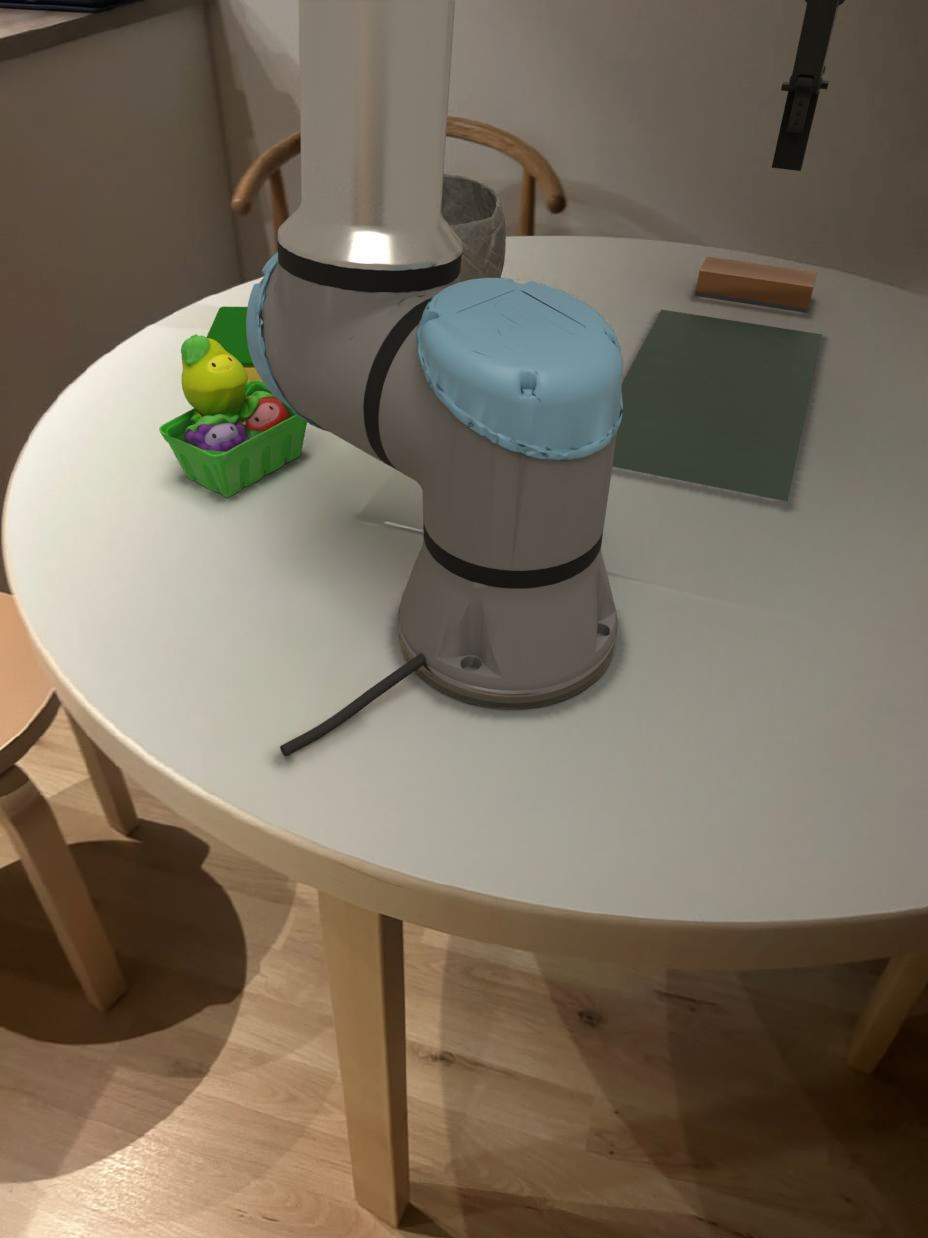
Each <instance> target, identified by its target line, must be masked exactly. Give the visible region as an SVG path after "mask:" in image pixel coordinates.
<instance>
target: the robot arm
mask: <svg viewBox="0 0 928 1238" xmlns="http://www.w3.org/2000/svg"><path fill="white" fill-rule="evenodd" d="M804 2H805V3H806V6H805V11H804V15H803V20H802V24H801V25H802V26H801V30H800V35H799V40H798V45H797V49H796V54H795V59H794V63H793V69H792V74H791V75H790V76H789V81H783V82H782V83H781V88H780V91H782V92H787V95H786V99H785V104H784V109H783V113H782V118H781V123H780V127H779V132H778V136H777V141H776V145H775V150H774V154H773V159H772V164H771V168H772V169H779V170H787V171H796V172H797V171H798V172H801V171H802V168H803V165H804V160H805V155H806V151H807V147H808V144H809V139H810V134H811V130H812V127H813V121H814V117H815V114H816V109H817V105H818V101H819V96H820V93H821V92H820V90H828V88H829V84H830V80H824V78H823V76H824V74H825V72H826V68H827V67H826V61H827V57H828V52H829V48H830V44H831V41H832V37H833V32H834V28H835V24H836V20H837V16H838V11H839V7H840V6H841V5H843V4H844V3H845V2H846V0H804ZM455 11H456V0H298V45H299V47H298V51H299V55H298V57H299V109H300V110H299V122H300V123H299V125H300V129H299V130H300V194H301V196H300V197H301V202H300V204H299V205H298V207H297V208H296V209H295V211H293V213H291V215H289V216H288V218H286V219H285V220H284V221H283V222H282V224H281V225H280V226H279V227H278V229H277V236H276V237H277V239H276V240H277V252H275V254H274V255H272V256H271V258H270V259H268V261H267V262H266V264H265V265H264V266H263V267H262V270H261V272H262V274H263V277H262V279H261V280H260V281H259V283H258V282H257V283H254V284H253V286H252V288H251V292H250V295H249V298H248V302H247V307H248V308H247V315H246V335H247V342H248V348H249V352H250V356H251V359H252V362H253V364H254V367H255V369H256V371H257V373H258V375H259V377H260V378H261V380H262V382H263V383H264V384H265V386H266V387H267V388H268V390H269V391H270V392H271V393H272V394H273V395H274V396H275V397H276V398H277V399H278V400H280V401H281V402H282V403H284V404H285V405H286V406H288V407H289V408H290V409H291V410H292V411H293V412H294V413H295V414H296V415H298V416H300V417H301V418H303V419H305V420H306V421H307V424H309V425H310V426H313V427H315V428H317V429H320V430H322V431H325V432H328V433H330V434H332V435H334V436H336V437H337V438H339V439H341V440H343V441H345V442H346V443H348V444H350V445H351V446H353V447H355V448H357V449H359V450H360V451H362V452H364V453H366V454H368V455H369V456H371V457H373V458H375V459H376V460H377V461H378V460H379V461H380V462H382V463H383V464H385V465H387V466H388V467H390V468H392V469H394V470H396V471H397V472H399V473H401V474H402V475H404V476H406V477H408V478H410V479H411V480H413V481H415V482H416V483H417V484H418V485H419V486H420V488H421V491H422V529H423V530H422V534H423V538H422V543H421V546H420V549H419V550H418V554H417V556H416V559H415V561H414V564H413V567H412V569H411V572H410V575H409V577H408V580H407V582H406V584H405V585H406V586H405V588H404V589H403V590H404V591H403V593H402V596H401V600H400V604H399V607H398V613H397V615H398V616H397V617H398V618H397V621H398V638H399V645H400V648H401V651H402V653H403V656H404V658H405V660H406V662H405V663H404V664H403V665H401V666H400V667H399V668H397V669H396V670H394V671H393V672H392V673H390V674H389V675H387V676H386V677H384V678H382V679H381V680H380V681H379V682H377V683H375V684H374V685H373V686H372V687H370V688H369V689H367V690H366V691H364V692H363V693H362V694H361V695H359V696H358V697H357V698H356V699H354V700H353V701H352V702H350V703H349V704H347V705H346V706H345V707H343V708H342V709H340V710H339V711H338V712H336V713H335V714H333V715H332V716H330V717H329V718H327V719H326V720H324V721H323V722H321V723H320V724H318V725H316V726H314V727H313V728H312V729H309V730H307V731H306V732H304V733H302V734H300V735H298V736H296V737H294V738H292V739H291V740H289V741H287V742H285V743H283V744H281V745H280V746H279V750H280V751H281V754H282V756H283V757H286V758H287V757H289V756H290V755H292V754H294V753H296V752H298V751H300V750H302V749H304V748H306V747H308V746H309V745H311V744H313V743H315V742H317V741H318V740H320V739H322V738H323V737H325V736H327V735H328V734H330V733H331V732H333V731H335V730H336V729H337V728H339V727H341V725H343V724H344V723H346V722H347V721H349V720H350V719H352V718H353V717H354V716H356V715H357V714H358V713H359V712H361V711H362V710H363V709H364V708H366V707H367V706H369V705H370V704H371V703H373V702H374V701H375V700H376V699H378V698H379V697H380V696H383V694H385V693H386V692H388V691H389V690H391V689H392V688H393V687H395V686H396V685H398V684H399V683H400V682H402V681H403V680H405V679H406V678H408V677H409V676H410V675H412V674H413V673H416V674H417V675H418V676H419V677H420V678H421V679H422V680H423V681H424V682H426V683H427V684H429V685H430V686H432V687H433V688H435V689H436V690H438V691H440V692H442V693H444V694H445V695H448V696H450V697H452V698H454V699H458V700H460V701H463V702H467V703H470V704H473V705H478V706H483V707H490V708H495V709H496V708H497V709H499V708H500V709H526V708H528V709H529V708H535V707H541V706H542V707H543V706H546V705H551V704H554V703H558V702H560V701H564V700H566V699H569V698H571V697H574V696H575V695H577V694H579V693H580V692H582V691H584V690H586V688H588V687H590V686H591V685H592V684H593V683H595V682H596V681H597V680H598V679H599V678H600V677H601V676H602V675H603V674H604V672H605V671H606V669H607V668H608V667H609V665H610V663H611V660H612V658H613V656H614V652H615V648H616V642H617V641H616V640H617V634H618V615H617V608H616V603H615V599H614V596H613V591H612V588H611V585H610V580H609V577H608V573H607V568H606V564H605V560H604V558H603V554H602V545H603V538H604V537H603V536H604V530H605V529H604V528H605V524H606V523H605V522H606V516H607V507H608V501H609V493H610V486H611V480H612V473H613V467H612V466H613V458H614V451H615V444H616V437H617V431H618V429H619V426H620V424H621V419H622V412H623V401H622V391H621V387H622V382H623V371H624V356H623V355H622V351H621V349H622V348H621V343H620V341H619V339H618V336H617V334H616V332H615V330H614V329H613V328H612V326H611V324H610V323H609V322H608V321H607V320H606V318H605V317H604V316H602V314H601V313H600V312H599V311H597V310H596V309H595V308H593V307H592V306H591V305H590V304H588V303H587V302H585V301H584V300H582V299H580V298H578V297H576V296H575V295H572V294H570V293H567V292H566V291H563V290H561V289H559V288H557V287H554V286H551V285H548V284H547V285H546V284H543V283H539V282H535V281H530V280H529V281H528V282H527V283H518V282H516V281H515V280H514V279H512V278H508V277H501V278H480V279H472V280H467V281H463V282H460V274H461V258H462V241H461V239H460V238H459V237H458V235H457V234H456V233H455V232H454V230H453V229H452V228H451V227H450V225H449V224H448V223H447V222H446V221H445V219H444V218H443V215H442V213H441V204H442V189H443V174H445V173H444V172H445V157H446V142H447V128H448V116H449V115H448V113H449V101H450V100H449V99H450V98H449V97H450V85H451V84H450V83H451V70H452V69H451V68H452V53H453V42H454V41H453V40H454V39H453V37H454V24H455V23H454V22H455Z"/></svg>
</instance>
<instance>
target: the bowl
mask: <svg viewBox="0 0 928 1238" xmlns="http://www.w3.org/2000/svg"><path fill="white" fill-rule="evenodd" d="M441 213H442V215H443V218H444V219H445V221H446V222H447V223H448V224H449V225H450V227H451V228H452V229H453V230H454V232H455V233H456V234H457V235H458V237H459V238H460V239H461V241H462V258H461V274H460V282H463V281H467V280H472V279H480V278H502V274H503V271H504V267H505V261H506V245H507V241H506V240H507V231H506V217H505V214H504V209H503V206H502V203H501V199H500V197H499V195H498V193H497V192H496V191H495V189H494V188H492V187H491V186H489V185H488V184H486V183H484V182H481V181H480V180H478V179H475V178H472V177H468V176H464V175H460V174H459V175H458V174H449V173H448V174H447V173H444V174H443V189H442V204H441Z"/></svg>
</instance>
